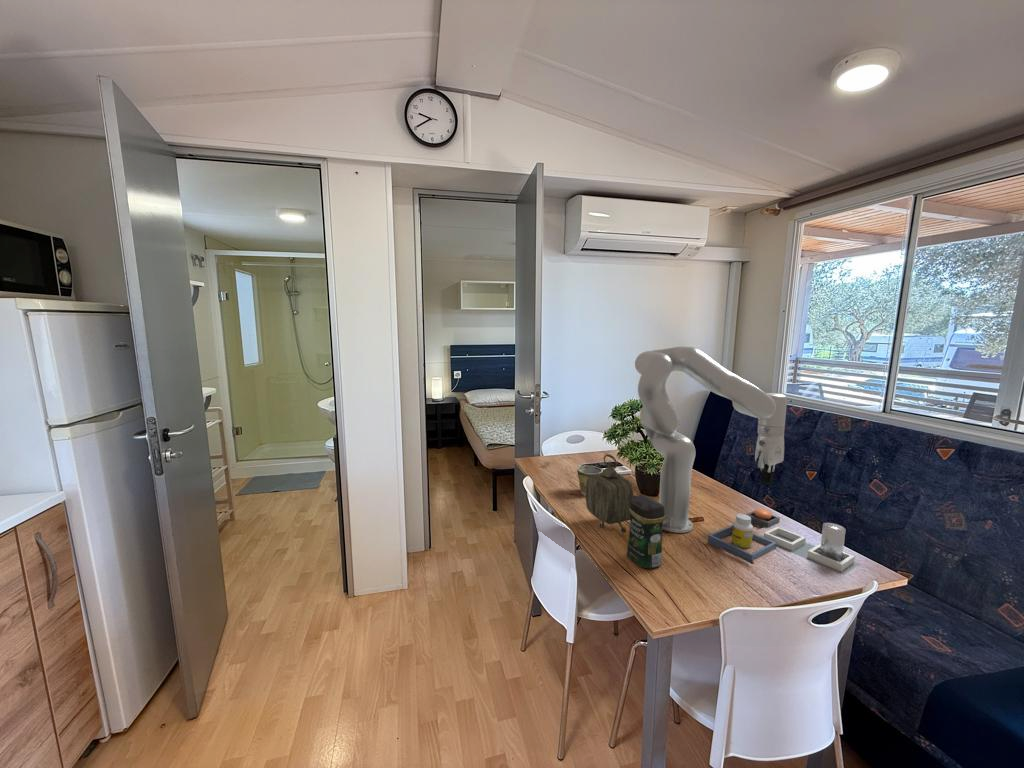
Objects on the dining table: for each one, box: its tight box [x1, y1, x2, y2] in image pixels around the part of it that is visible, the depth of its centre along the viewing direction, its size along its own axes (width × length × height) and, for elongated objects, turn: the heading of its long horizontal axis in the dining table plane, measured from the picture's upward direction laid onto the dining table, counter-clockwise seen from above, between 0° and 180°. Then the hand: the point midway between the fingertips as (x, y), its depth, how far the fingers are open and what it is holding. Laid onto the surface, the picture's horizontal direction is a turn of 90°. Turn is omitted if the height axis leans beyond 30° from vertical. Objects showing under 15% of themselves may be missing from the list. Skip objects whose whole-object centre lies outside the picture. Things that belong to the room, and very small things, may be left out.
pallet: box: [761, 526, 860, 575], centre depth 118 cm, size 10×22×3 cm, turn 31°
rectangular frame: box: [707, 524, 777, 564], centre depth 122 cm, size 13×13×2 cm
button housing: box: [745, 510, 781, 529], centre depth 137 cm, size 7×7×2 cm
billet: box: [820, 522, 847, 562], centre depth 113 cm, size 5×5×10 cm
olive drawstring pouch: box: [585, 454, 634, 534], centre depth 132 cm, size 14×9×25 cm, turn 23°
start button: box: [754, 508, 773, 519], centre depth 137 cm, size 5×5×2 cm
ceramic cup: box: [576, 465, 605, 497], centre depth 162 cm, size 13×10×10 cm
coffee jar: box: [626, 494, 665, 570], centre depth 113 cm, size 10×8×19 cm
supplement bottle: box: [731, 513, 754, 549], centre depth 121 cm, size 5×5×10 cm
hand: (766, 482), depth 136 cm, fingers closed
